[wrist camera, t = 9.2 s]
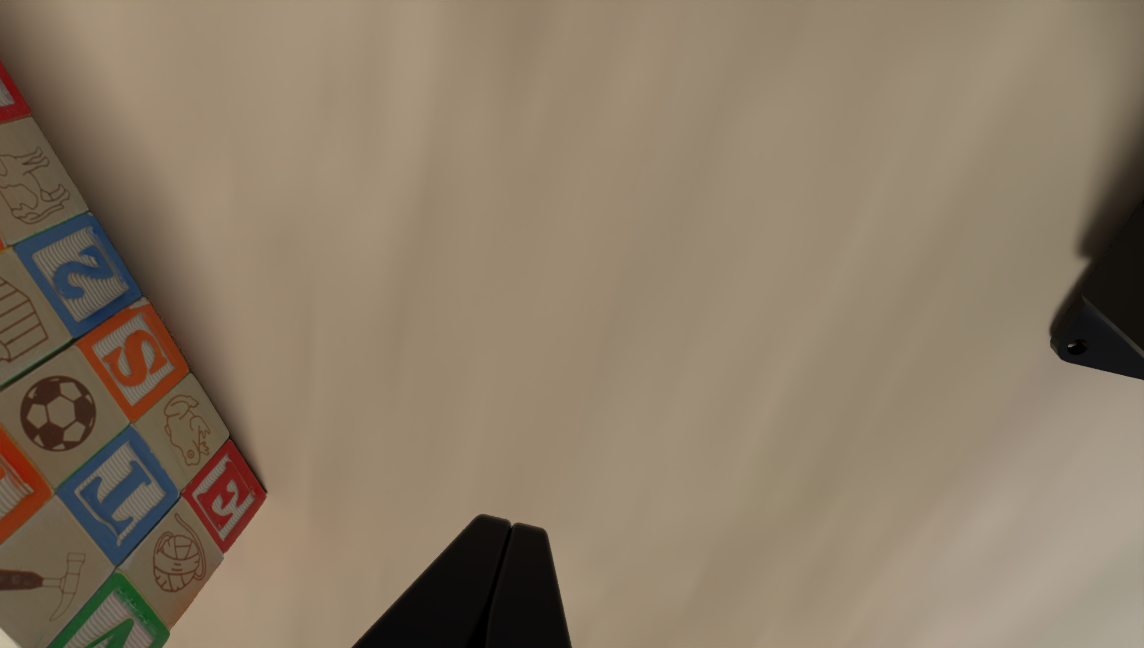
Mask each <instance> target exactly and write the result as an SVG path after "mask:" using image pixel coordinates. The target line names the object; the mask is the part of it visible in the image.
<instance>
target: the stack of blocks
mask: <svg viewBox="0 0 1144 648" xmlns="http://www.w3.org/2000/svg"><path fill="white" fill-rule="evenodd" d="M228 437H229V431H228V429H227V428H226V426H225V424H224V422H223V421H222V419H221V418H220V416H219V414H218V413H217V411H216V409H215V408H214V406H213V404H212V403H211V401H210V399H209V398H208V396H207V395H206V393H205V391H204V390H203V388H202V387H201V385H200V384H199V382H198V381H197V379H196V378H195V377H194V375H193V374H192V373H190V372H189V368H188V365H187V363H186V361H185V359H184V358H183V356H182V354H181V352H180V351H179V349H178V348H177V346H176V344H175V343H174V341H173V340H172V338H171V336H170V335H169V333H168V331H167V330H166V328H165V326H164V324H163V323H162V321H161V319H160V318H159V316H158V315H157V313H156V312H155V310H154V308H153V307H152V305H151V303H150V301H149V300H148V299H146V298H145V297H143V296H142V294H141V290H140V288H139V287H138V285H137V283H136V282H135V280H134V279H133V277H132V275H131V274H130V272H129V271H128V269H127V268H126V266H125V264H124V263H123V261H122V259H121V258H120V256H119V254H118V253H117V251H116V250H115V249H114V247H113V245H112V243H111V242H110V240H109V238H108V237H107V235H106V234H105V232H104V231H103V229H102V227H101V225H100V224H99V222H98V220H97V219H96V217H95V216H94V215H93V214H92V213H91V212H90V211H89V209H88V206H87V204H86V202H85V201H84V199H83V197H82V196H81V194H80V193H79V191H78V189H77V188H76V186H75V185H74V183H73V181H72V180H71V178H70V177H69V175H68V174H67V172H66V170H65V169H64V167H63V165H62V164H61V162H60V160H59V159H58V157H57V156H56V154H55V153H54V151H53V149H52V148H51V146H50V144H49V143H48V141H47V139H46V138H45V136H44V135H43V133H42V132H41V130H40V128H39V127H38V125H37V124H36V122H35V121H34V119H33V118H32V116H31V111H30V109H29V107H28V105H27V104H26V102H25V101H24V99H23V97H22V95H21V94H20V92H19V90H18V89H17V87H16V85H15V84H14V82H13V81H12V79H11V77H10V76H9V74H8V73H7V71H6V69H5V68H4V66H3V65H2V63H1V61H0V648H162V647H163V646H164V645H165V643H166V642H167V640H168V638H169V635H170V630H171V628H172V627H173V626H174V625H175V624H176V622H177V621H178V620H179V619H180V617H181V616H182V615H183V613H184V612H185V611H186V610H187V608H188V607H189V606H190V604H191V603H192V602H193V600H194V599H195V597H196V596H197V595H198V593H199V592H200V591H201V589H202V588H203V587H204V585H205V584H206V582H207V581H208V580H209V578H210V577H211V576H212V574H213V573H214V571H215V570H216V569H217V568H218V566H219V565H220V564H221V562H222V560H223V559H224V557H223V555H224V554H225V553H226V552H227V551H228V550H229V548H230V547H231V546H232V545H233V543H234V542H235V540H236V539H237V538H238V536H239V535H240V534H241V533H242V531H243V530H244V529H245V527H246V526H247V525H248V523H249V522H250V521H251V519H252V518H253V517H254V515H255V514H256V512H257V511H258V510H259V508H260V507H261V505H262V504H263V502H264V501H265V499H266V497H267V496H266V494H265V492H264V490H263V489H262V487H261V486H260V484H259V482H258V481H257V479H256V478H255V476H254V475H253V473H252V472H251V470H250V468H249V467H248V465H247V464H246V462H245V461H244V459H243V457H242V456H241V454H240V453H239V451H238V450H237V448H236V447H235V445H234V443H233V441H231V440H230V439H229V438H228Z"/></svg>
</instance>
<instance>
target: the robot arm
mask: <svg viewBox="0 0 1144 648" xmlns="http://www.w3.org/2000/svg"><path fill="white" fill-rule="evenodd" d="M1077 339H1081V340H1080V342H1079V343H1078V344H1077V345H1075V346H1073V347H1068V345H1069V344H1070V343H1071V342H1072V341H1075V340H1077ZM1050 345H1051V348H1052V349H1053V351H1054V352H1055V353H1056V354H1057V355H1058V356H1059V357H1060V359H1061V360H1064V361H1066V362H1069V363H1073V364H1077V365H1082V366H1086V367H1090V368H1094V369H1099V370H1103V371H1107V372H1111V373H1116V374H1120V375H1124V376H1129V377H1133V378H1137V379H1141V380H1144V201H1143V202H1142V204H1141V205H1140V206H1139V207H1138V208H1137V209H1136V210H1135V211H1134V213H1133V214H1132V216H1131V217H1130V219H1129V220H1128V222H1127V223H1126V225H1125V226H1124V228H1123V229H1122V231H1121V232H1120V234H1119V235H1118V237H1117V238H1116V240H1115V241H1114V242H1113V244H1112V245H1111V247H1110V248H1109V250H1108V251H1107V253H1106V254H1105V256H1104V257H1103V259H1102V260H1101V262H1100V263H1099V265H1098V266H1097V268H1096V269H1095V271H1094V272H1093V274H1092V275H1091V277H1090V278H1089V280H1088V281H1087V282H1086V284H1085V285H1084V287H1083V288H1082V290H1081V294H1080V295H1079V297H1078V298H1077V300H1076V301H1075V303H1074V304H1073V306H1072V307H1071V309H1070V310H1069V312H1068V313H1067V315H1066V316H1065V318H1064V319H1063V321H1062V322H1061V324H1060V325H1059V326H1058V328H1057V329H1056V331H1055V332H1054V334H1053V335H1052V338H1051V340H1050ZM352 648H572V646H571V641H570V636H569V632H568V627H567V622H566V618H565V613H564V608H563V604H562V599H561V594H560V590H559V585H558V580H557V576H556V571H555V566H554V562H553V557H552V552H551V548H550V543H549V538H548V535H547V532H546V531H545V530H544V529H543V528H540V527H536V526H532V525H528V524H523V523H515V524H514V525H513V526H512V528H511V523H510V522H509V520H507V519H503V518H499V517H494V516H490V515H486V514H480V515H478V516H477V517H475V518H474V519H473V520H472V521H471V522H470V523H469V525H468V526H467V527H466V528H465V529H464V530H463V531H462V532H461V533H460V534H459V535H458V536H457V537H456V538H455V539H454V540H453V541H452V542H451V543H450V544H449V546H448V547H447V548H446V549H445V550H444V551H443V552H442V553H441V554H440V555H439V556H438V557H437V558H436V559H435V560H434V561H433V562H432V563H431V564H430V566H429V567H428V568H427V569H426V570H425V571H424V572H423V573H422V574H421V575H420V576H419V577H418V578H417V579H416V580H415V581H414V582H413V583H412V584H411V585H410V587H409V588H408V589H407V590H406V591H405V592H404V593H403V594H402V595H401V596H400V597H399V598H398V599H397V600H396V601H395V602H394V603H393V604H392V605H391V607H390V608H389V609H388V610H387V611H386V612H385V613H384V614H383V615H382V616H381V617H380V618H379V619H378V620H377V621H376V622H375V623H374V624H373V625H372V627H371V628H370V629H369V630H368V631H367V632H366V633H365V634H364V635H363V636H362V637H361V638H360V639H359V640H358V641H357V642H356V643H355V644H354V645H353V646H352Z"/></svg>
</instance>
